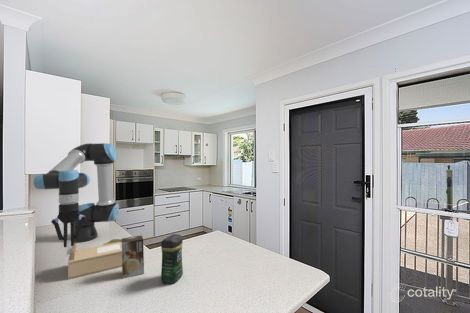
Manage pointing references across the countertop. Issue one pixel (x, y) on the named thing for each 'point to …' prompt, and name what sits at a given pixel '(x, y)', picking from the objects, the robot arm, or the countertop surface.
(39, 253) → the countertop surface
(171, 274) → the coffee jar
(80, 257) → the lid
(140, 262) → the coffee box
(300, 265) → the countertop surface
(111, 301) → the countertop surface
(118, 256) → the box
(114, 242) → the carton
